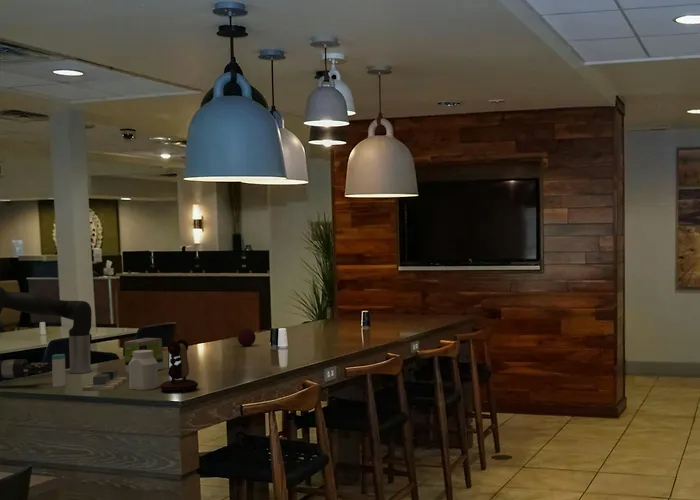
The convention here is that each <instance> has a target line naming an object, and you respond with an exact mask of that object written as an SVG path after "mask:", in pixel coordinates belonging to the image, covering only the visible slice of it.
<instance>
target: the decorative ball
mask: <svg viewBox="0 0 700 500" xmlns="http://www.w3.org/2000/svg"><path fill="white" fill-rule="evenodd" d="M256 337H257V336H256V333H255V332H254V331H253V330H252V329H251V328H243V329H241V330H240V331H239V332H238V334H237V341H238V343H239V344H240V345H241V346H243V347H250V346H252V345H253V344H254V343H255V341H256Z"/></svg>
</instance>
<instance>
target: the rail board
mask: <svg viewBox="0 0 700 500" xmlns="http://www.w3.org/2000/svg"><path fill="white" fill-rule="evenodd" d="M126 381H128V376H119V378H117V379H116V380H114V381H113V382H111V383H109V384H108V385H106V386H105V387H92V385H93V381H92V382H90V383H89V384H87V385H85V386H83V387H82V391H85V392H87V391H88V392H89V391H113V390H114V389H116V388H118V387H119V386H121V385H122V384H123V383H124V382H126Z"/></svg>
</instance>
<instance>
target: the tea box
mask: <svg viewBox="0 0 700 500" xmlns="http://www.w3.org/2000/svg"><path fill="white" fill-rule="evenodd" d="M123 343H124V367H125V373H126V374H129V362H130V359H131V354H133V353H132V352H133V351H137V350H153V357H154V358H155V359H156V361H157V362H158V365H157V368H158V371H159V370H163V369H164V356H163V355H164V354H163V339H162V337H161V338H160V337H158V338H157V337H143V338H138V339H131V340H128V341H127V340H126V341H123Z"/></svg>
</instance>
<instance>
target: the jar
mask: <svg viewBox="0 0 700 500" xmlns="http://www.w3.org/2000/svg"><path fill="white" fill-rule="evenodd" d="M132 353H133V357H132V359H131V361H130V362H129V373H128V376H129V377H128V379H129V383H128V385H129V386H128V388H129V390H132V389H136V390H135V391H137V390H139V391H148V390H149V391H150V390H154V388H155V389H158V388H159V378H158V377H159V376H158V375H159V373H158V372H159V370H158V368H157V365H158V362H157V361H156V359H155V358H154V357H153V350H137V351H133V352H132ZM157 387H158V388H157Z"/></svg>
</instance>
